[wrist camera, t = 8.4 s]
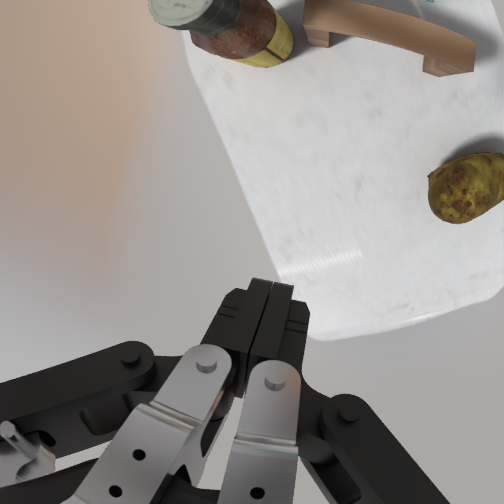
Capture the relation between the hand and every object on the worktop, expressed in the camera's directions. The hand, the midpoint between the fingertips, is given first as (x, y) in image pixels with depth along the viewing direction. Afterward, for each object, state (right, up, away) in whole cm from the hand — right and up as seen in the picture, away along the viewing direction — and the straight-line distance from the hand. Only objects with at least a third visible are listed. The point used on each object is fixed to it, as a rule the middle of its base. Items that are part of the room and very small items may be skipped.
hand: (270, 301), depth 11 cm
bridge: (+13, +23, +13) cm, 30 cm away
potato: (+24, +11, +17) cm, 31 cm away
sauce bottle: (+1, +24, +16) cm, 29 cm away
